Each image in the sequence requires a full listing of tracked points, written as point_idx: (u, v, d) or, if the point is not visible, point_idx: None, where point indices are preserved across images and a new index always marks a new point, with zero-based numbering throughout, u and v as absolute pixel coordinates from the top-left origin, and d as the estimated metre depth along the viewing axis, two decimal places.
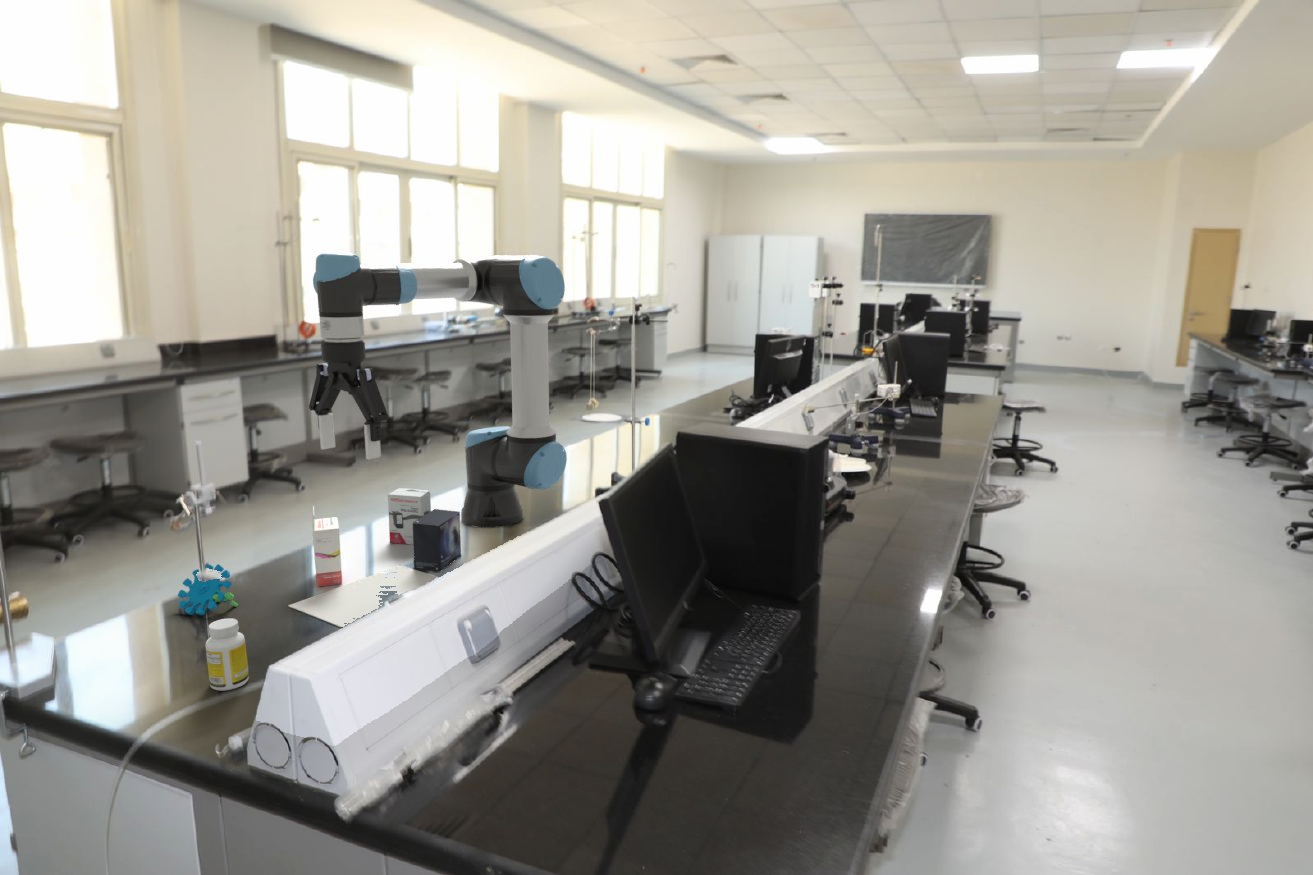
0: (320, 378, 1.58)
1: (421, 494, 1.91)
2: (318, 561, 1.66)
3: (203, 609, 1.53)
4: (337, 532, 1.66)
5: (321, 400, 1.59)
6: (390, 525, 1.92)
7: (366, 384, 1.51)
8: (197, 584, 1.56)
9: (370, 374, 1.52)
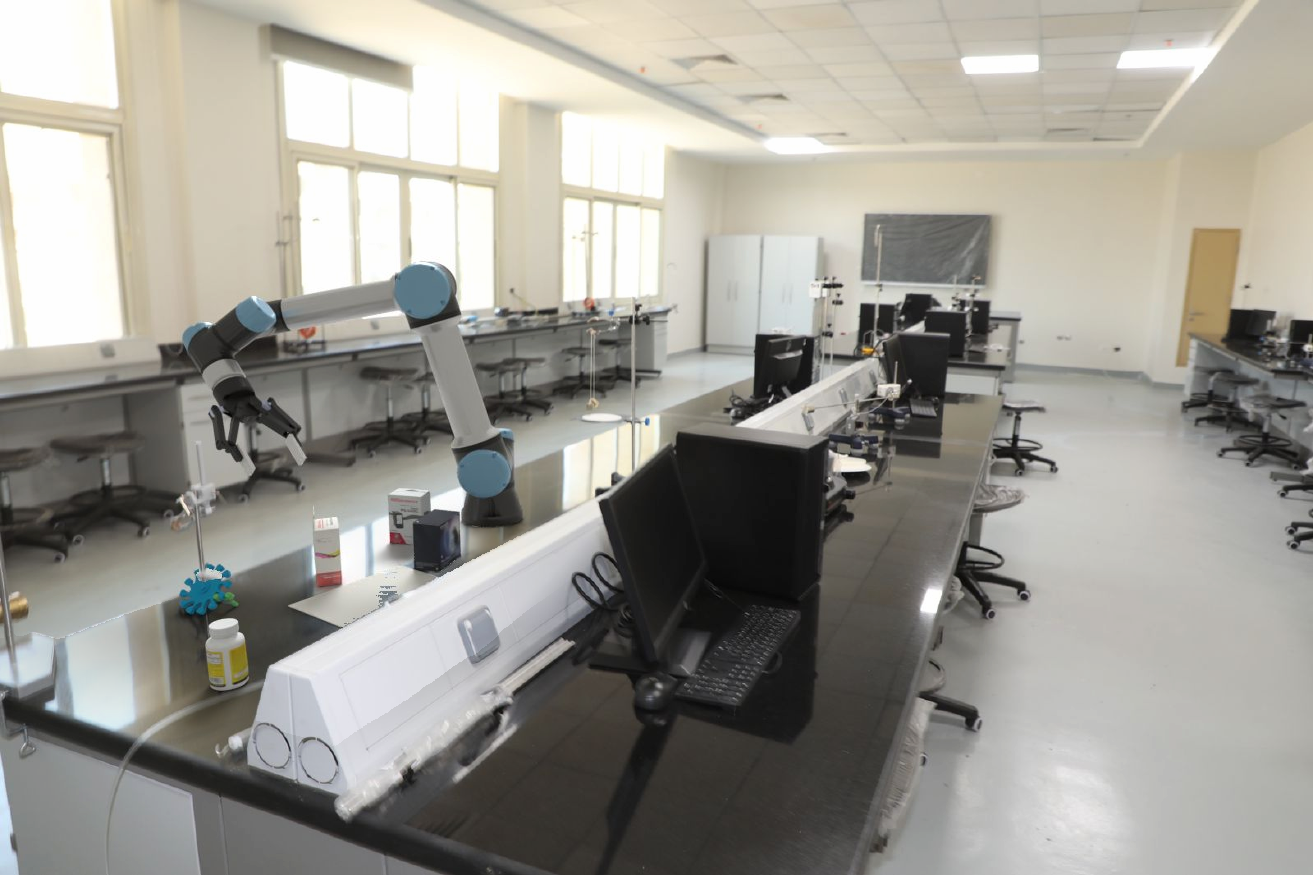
0: (269, 413, 1.84)
1: (421, 494, 1.91)
2: (318, 561, 1.66)
3: (204, 609, 1.53)
4: (337, 532, 1.66)
5: None
6: (390, 525, 1.92)
7: (213, 422, 1.73)
8: (198, 584, 1.56)
9: (211, 412, 1.73)
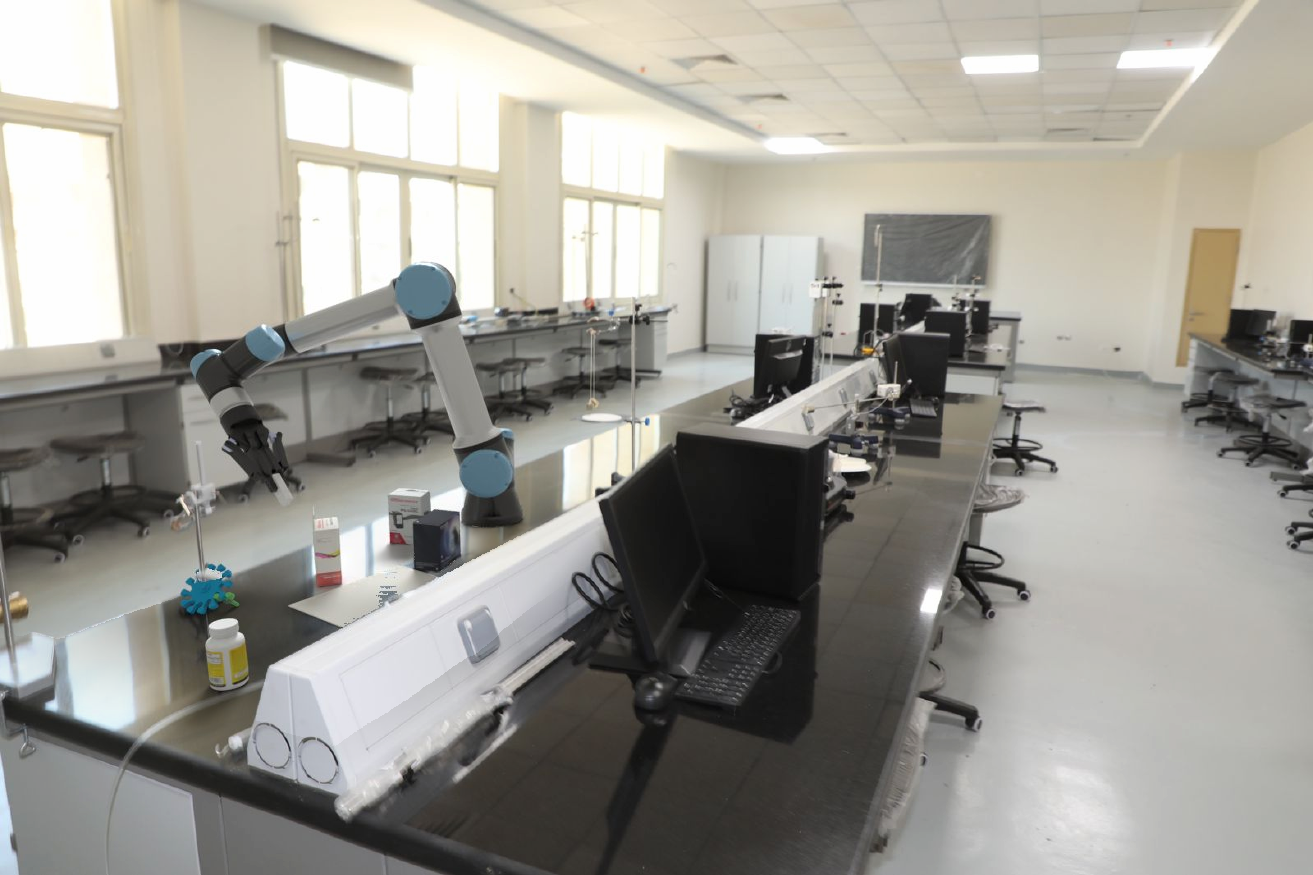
0: (272, 446, 1.82)
1: (421, 494, 1.91)
2: (318, 561, 1.66)
3: (204, 608, 1.54)
4: (337, 532, 1.66)
5: None
6: (390, 525, 1.92)
7: (232, 456, 1.74)
8: (199, 583, 1.57)
9: (227, 447, 1.73)
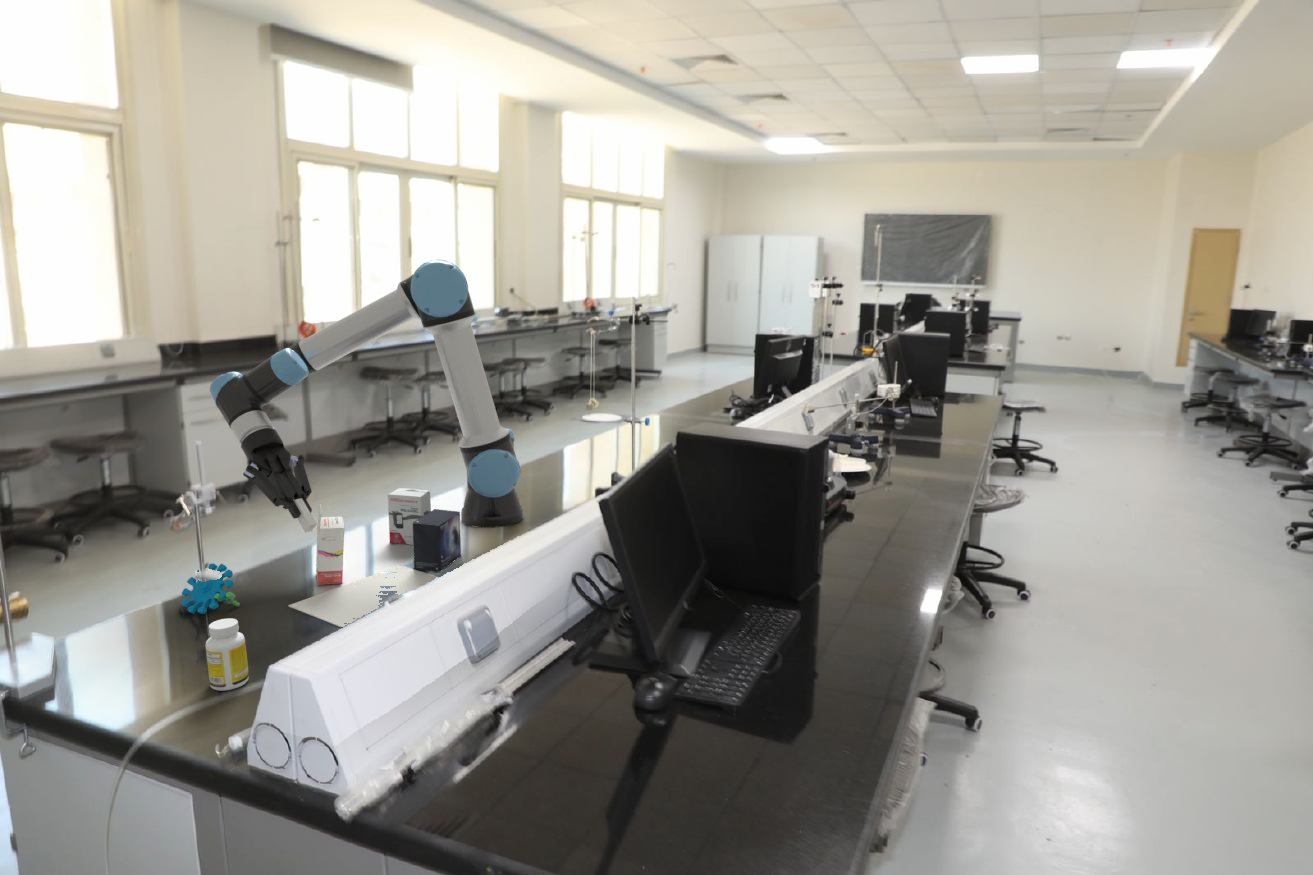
0: None
1: (421, 494, 1.91)
2: (321, 559, 1.66)
3: (205, 608, 1.54)
4: (342, 531, 1.67)
5: None
6: (390, 525, 1.92)
7: (254, 481, 1.71)
8: (200, 583, 1.57)
9: (249, 473, 1.70)
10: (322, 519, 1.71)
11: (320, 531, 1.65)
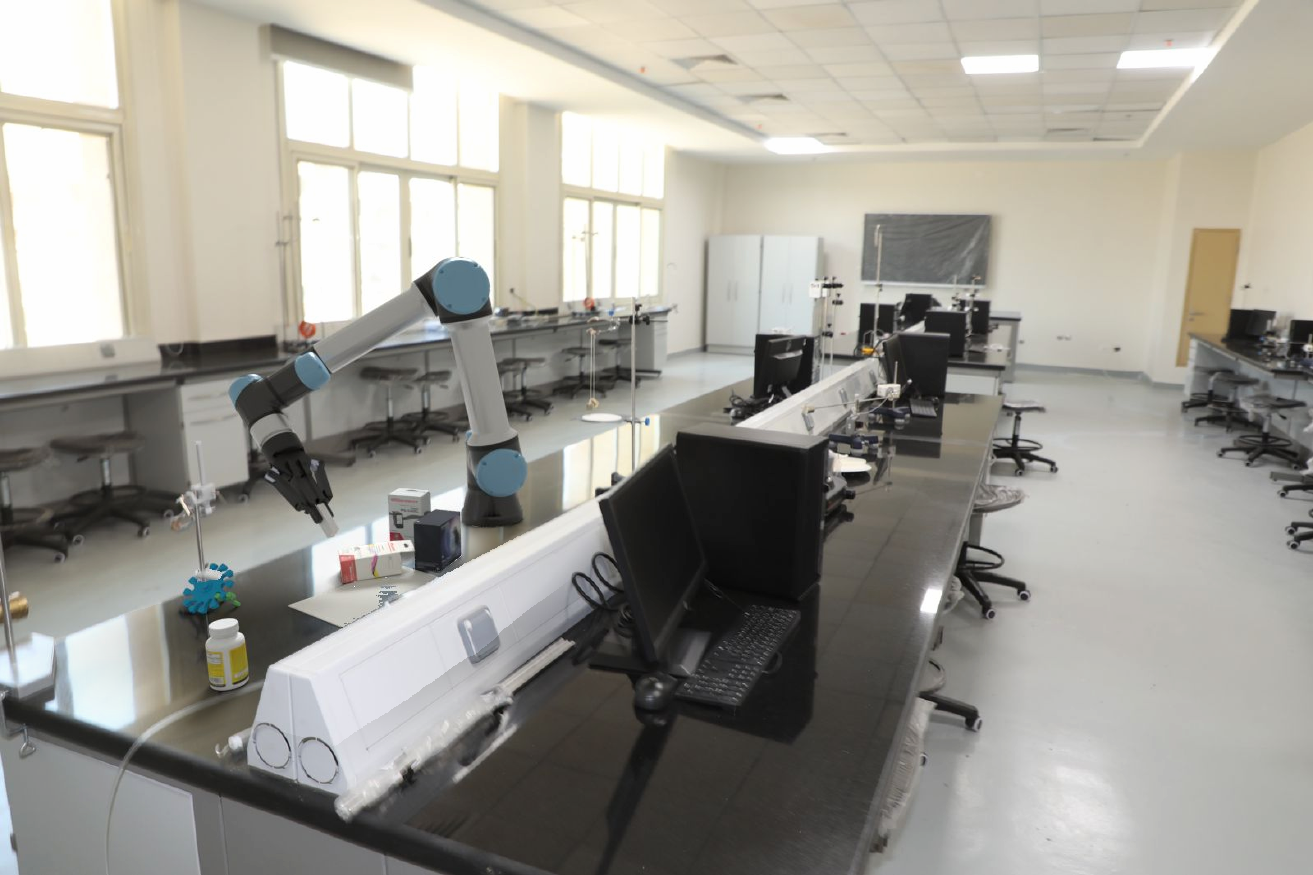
0: (314, 474, 1.76)
1: (421, 494, 1.91)
2: (368, 559, 1.70)
3: (205, 608, 1.54)
4: (398, 573, 1.73)
5: None
6: (390, 525, 1.92)
7: (275, 486, 1.68)
8: (201, 582, 1.57)
9: (270, 477, 1.67)
10: None
11: (397, 554, 1.72)
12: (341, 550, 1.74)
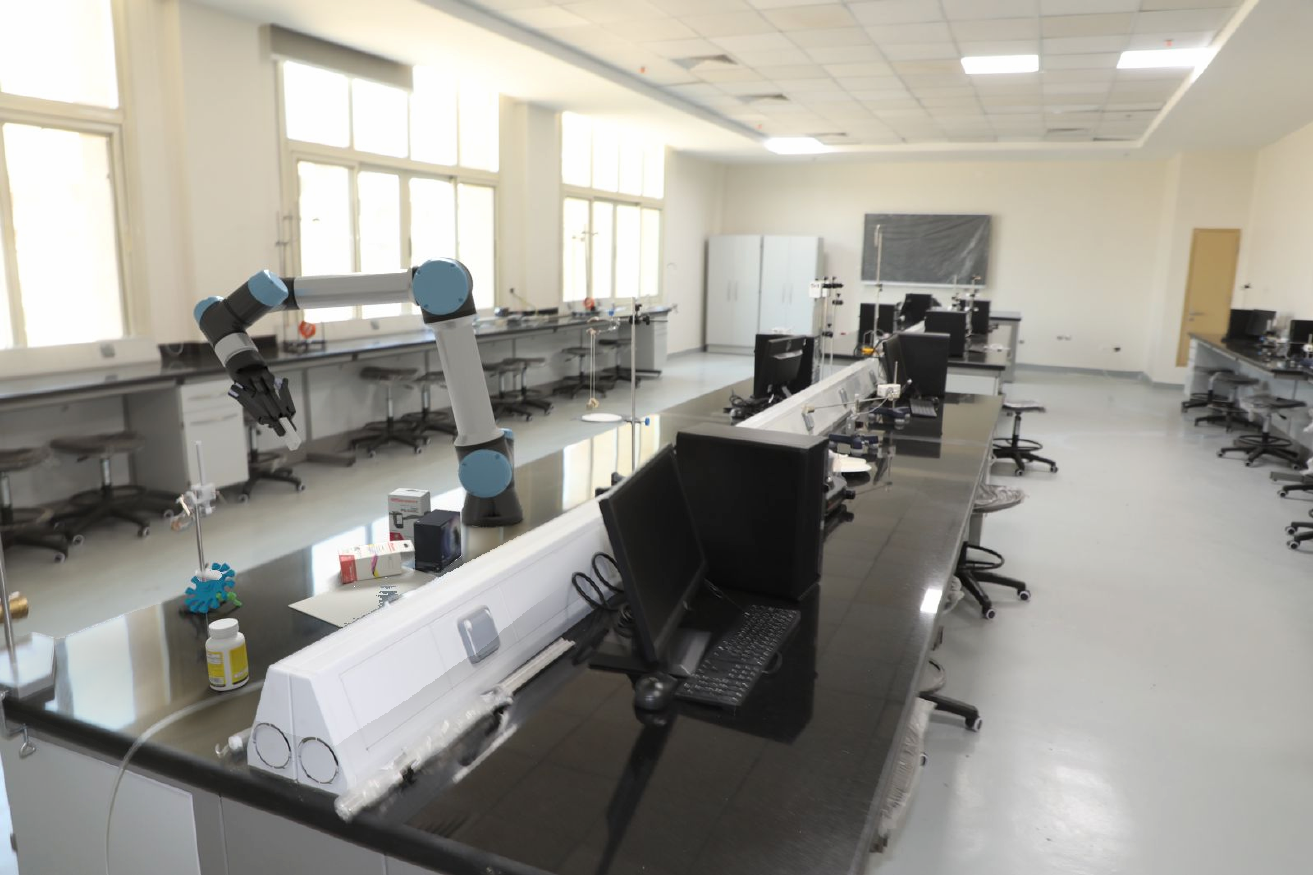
0: (278, 392, 1.81)
1: (421, 494, 1.91)
2: (368, 559, 1.70)
3: (206, 607, 1.54)
4: (398, 573, 1.73)
5: None
6: (390, 525, 1.92)
7: (238, 401, 1.73)
8: (203, 582, 1.57)
9: (233, 392, 1.72)
10: None
11: (397, 554, 1.72)
12: (341, 550, 1.74)
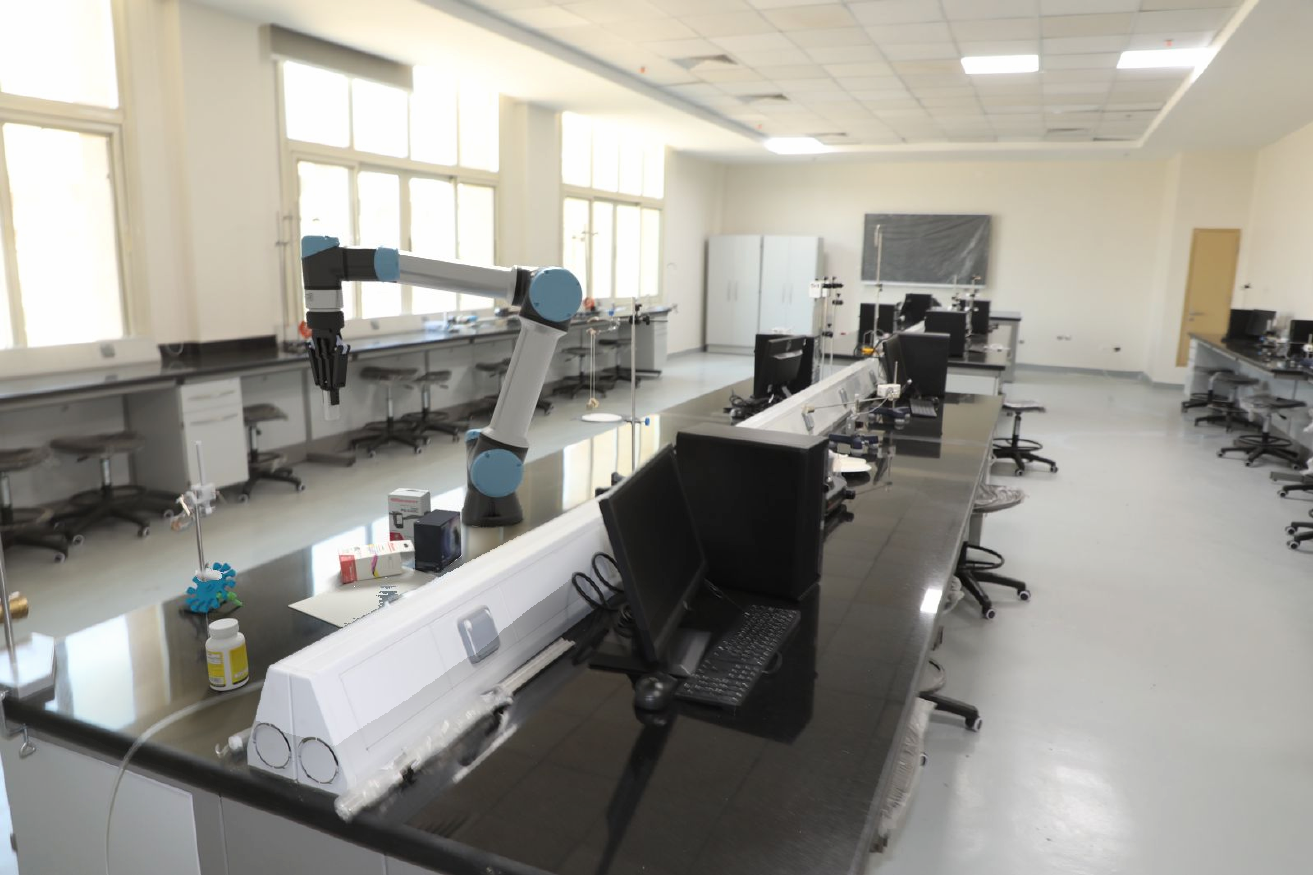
0: (310, 351, 1.82)
1: (421, 494, 1.91)
2: (368, 559, 1.70)
3: (206, 607, 1.54)
4: (398, 573, 1.73)
5: (320, 373, 1.81)
6: (390, 525, 1.92)
7: (339, 358, 1.77)
8: (204, 582, 1.57)
9: (346, 350, 1.77)
10: None
11: (397, 554, 1.72)
12: (341, 550, 1.74)
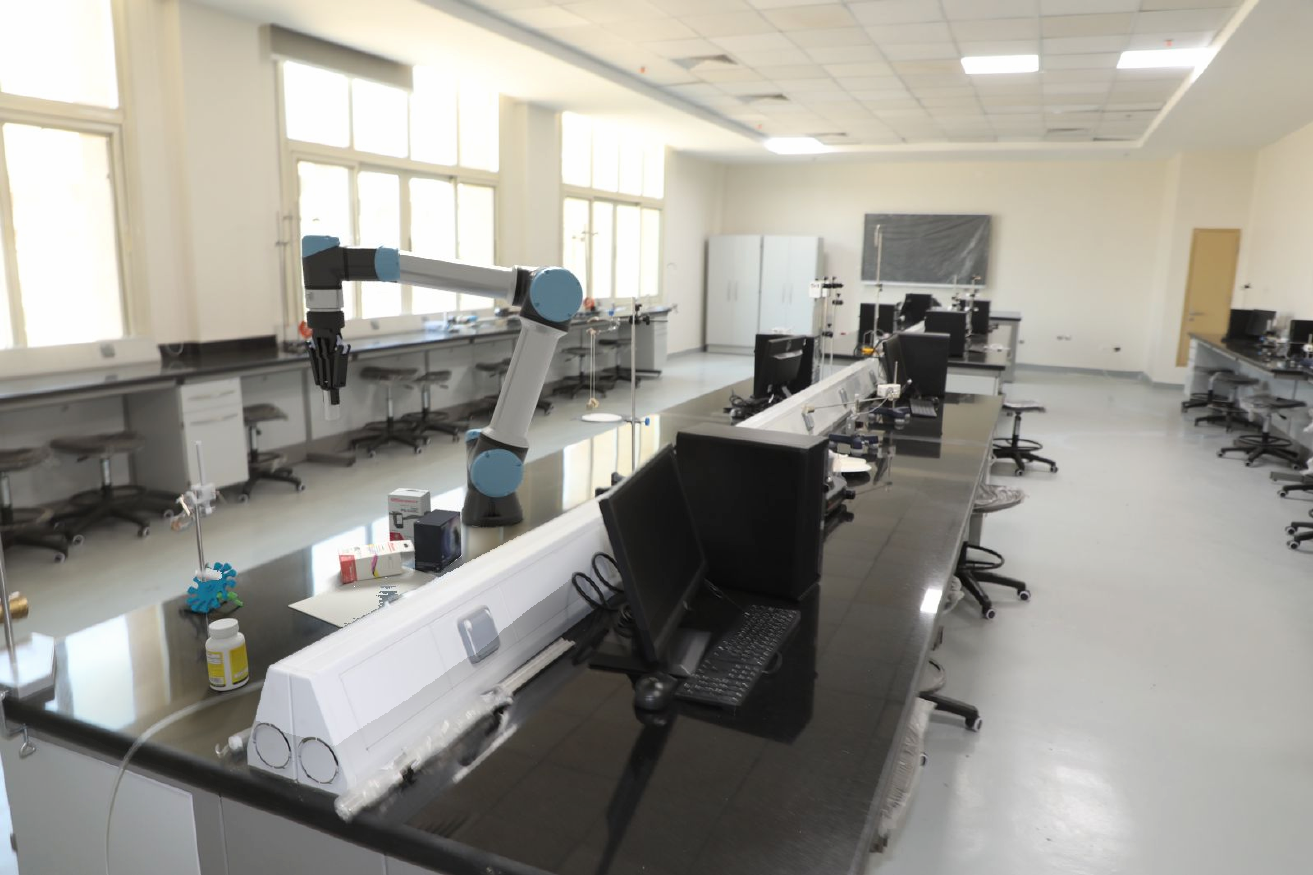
0: (311, 350, 1.82)
1: (421, 494, 1.91)
2: (368, 559, 1.70)
3: (207, 607, 1.54)
4: (398, 573, 1.73)
5: (320, 373, 1.81)
6: (390, 525, 1.92)
7: (339, 357, 1.77)
8: None
9: (346, 350, 1.77)
10: None
11: (397, 554, 1.72)
12: (341, 550, 1.74)
